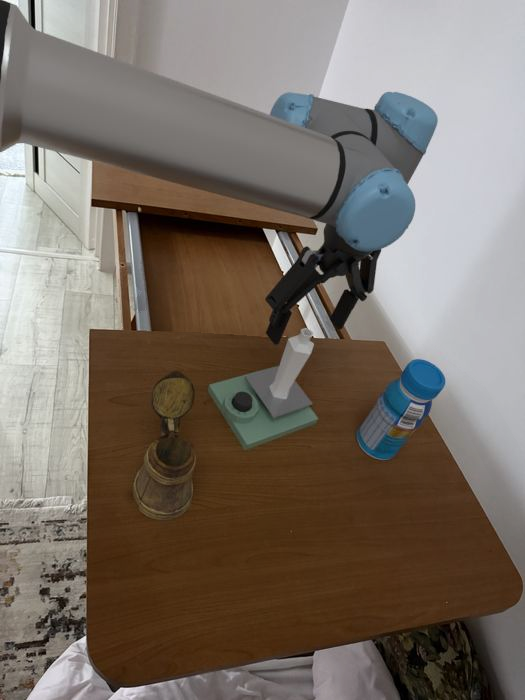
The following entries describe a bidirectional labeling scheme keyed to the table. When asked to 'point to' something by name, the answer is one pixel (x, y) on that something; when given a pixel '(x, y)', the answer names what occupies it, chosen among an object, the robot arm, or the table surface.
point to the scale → (255, 414)
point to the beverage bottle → (400, 409)
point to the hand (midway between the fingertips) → (305, 331)
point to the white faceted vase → (292, 363)
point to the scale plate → (272, 404)
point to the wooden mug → (168, 454)
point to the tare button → (242, 401)
